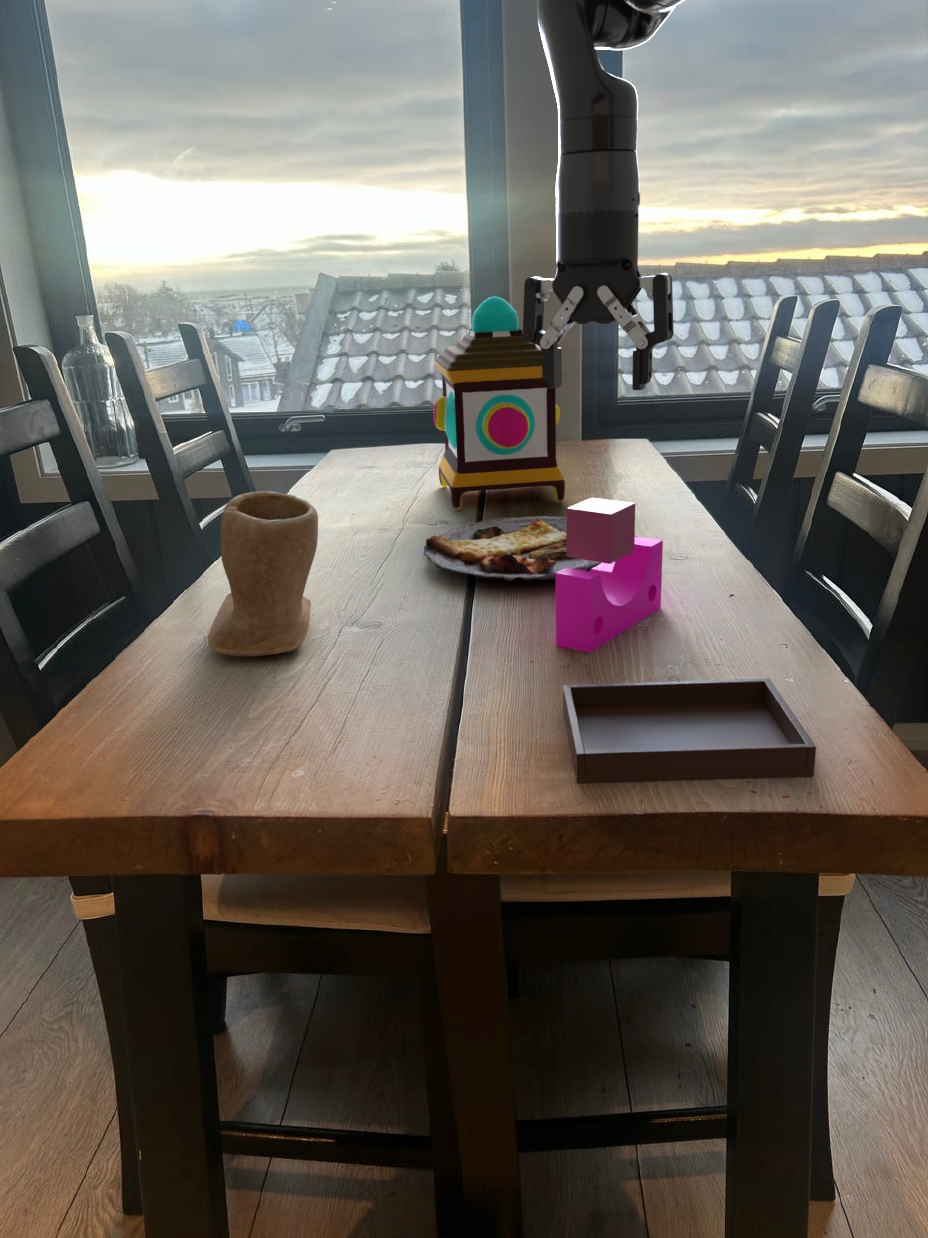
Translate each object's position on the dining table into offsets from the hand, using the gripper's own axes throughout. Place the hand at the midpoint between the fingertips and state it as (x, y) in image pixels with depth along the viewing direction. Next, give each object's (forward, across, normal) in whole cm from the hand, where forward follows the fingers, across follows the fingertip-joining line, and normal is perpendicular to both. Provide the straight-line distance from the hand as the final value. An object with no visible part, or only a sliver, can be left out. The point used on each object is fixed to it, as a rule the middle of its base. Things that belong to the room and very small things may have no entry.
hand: (596, 388), depth 97 cm
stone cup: (+24, -29, -17) cm, 41 cm away
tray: (+24, +15, -25) cm, 37 cm away
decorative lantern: (+24, -31, +48) cm, 62 cm away
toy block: (+24, +1, -2) cm, 24 cm away
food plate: (+24, -14, +16) cm, 32 cm away
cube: (+16, +1, -2) cm, 16 cm away
